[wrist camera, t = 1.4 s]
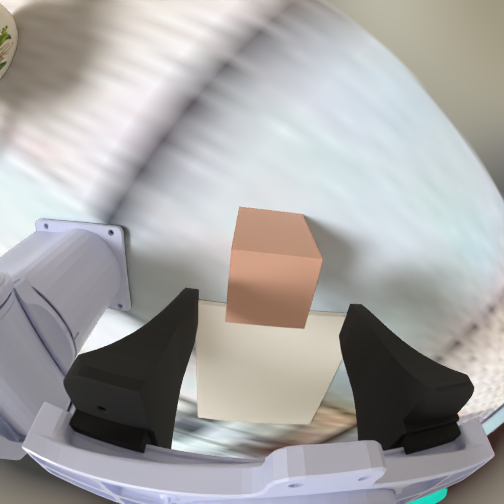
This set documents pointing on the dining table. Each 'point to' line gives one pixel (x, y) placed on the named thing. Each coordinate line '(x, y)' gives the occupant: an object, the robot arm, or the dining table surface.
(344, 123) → the dining table surface
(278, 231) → the block
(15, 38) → the pitcher
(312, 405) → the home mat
